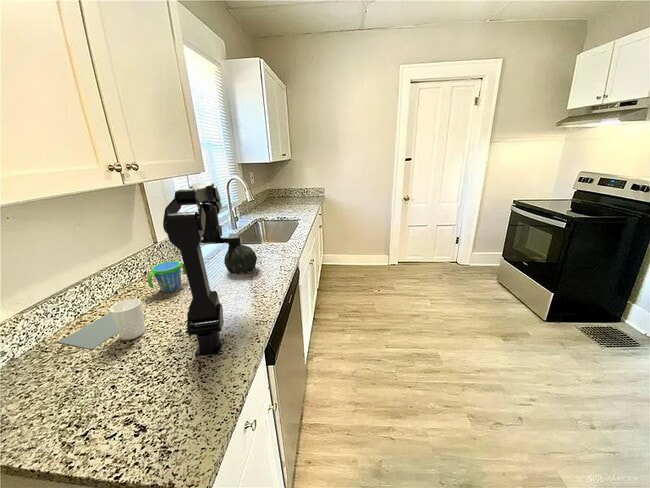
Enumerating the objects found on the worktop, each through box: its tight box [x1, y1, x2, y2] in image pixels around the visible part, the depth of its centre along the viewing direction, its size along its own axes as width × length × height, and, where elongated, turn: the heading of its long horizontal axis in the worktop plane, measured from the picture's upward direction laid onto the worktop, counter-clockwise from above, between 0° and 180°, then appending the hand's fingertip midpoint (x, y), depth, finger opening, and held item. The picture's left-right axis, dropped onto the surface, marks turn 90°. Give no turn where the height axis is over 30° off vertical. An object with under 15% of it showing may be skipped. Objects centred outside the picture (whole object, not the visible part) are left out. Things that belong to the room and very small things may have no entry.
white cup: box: [108, 298, 147, 341], centre depth 86 cm, size 8×8×10 cm
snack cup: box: [147, 260, 187, 292], centre depth 115 cm, size 16×10×10 cm
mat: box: [57, 312, 146, 350], centre depth 90 cm, size 14×18×1 cm
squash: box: [223, 243, 258, 275], centre depth 130 cm, size 14×15×15 cm
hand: (216, 263), depth 98 cm, fingers open, 9 cm apart
